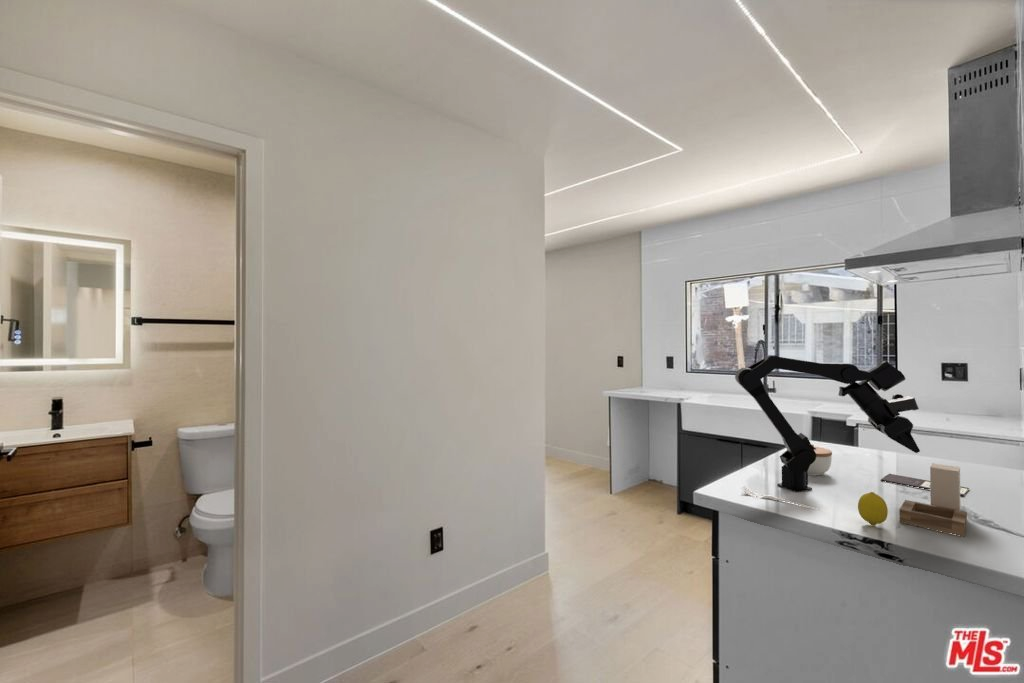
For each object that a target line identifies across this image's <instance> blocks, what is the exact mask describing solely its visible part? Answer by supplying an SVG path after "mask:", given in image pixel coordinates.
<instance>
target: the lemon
mask: <svg viewBox="0 0 1024 683" xmlns="http://www.w3.org/2000/svg"><path fill="white" fill-rule="evenodd" d="M888 509H889V508H888V504H887V503H886V501H885V500H884V498H883V497H882V496H880V495H878V494H877V493H875V492H873V491H870V492H868V493H863V494H862V495H861V496H860V498H859V499H858V501H857V510H858V513H859V515H860V517H861V518H862V520H864V521H865V522H866V523H869V524H870V525H871V526H873V527H875V526H876V525H878V524H882V523H884V522H885V521H886V520H887V518H888V514H889V513H888V512H889V510H888Z"/></svg>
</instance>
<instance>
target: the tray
mask: <svg viewBox="0 0 1024 683" xmlns="http://www.w3.org/2000/svg"><path fill="white" fill-rule="evenodd" d="M899 523H900V524H904V525H908V524H909V526H913V525H914V527H917V526H919V527H918V528H921V527H924V528H923V529H926V528H929V529H928V530H930V529H933V530H932V531H935V530H938V531H937V532H939V531H942V532H941V533H944V532H946V533H945V534H948V533H952V534H956V535H955V536H957V535H960V536H959V537H961V536H963V537H962V538H965V536H966V531H967V527H968V512H967V511H964V510H961V509H960V510H955V509H950V508H945V507H940V506H935V505H931V503H930V504H929V503H923V502H918V501H913V500H909V499H904V501H903V502H902V504H901V506H900V508H899ZM952 534H951V535H952Z"/></svg>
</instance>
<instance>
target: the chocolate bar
mask: <svg viewBox="0 0 1024 683" xmlns="http://www.w3.org/2000/svg"><path fill="white" fill-rule="evenodd" d="M883 481H886V482H885V483H888V482H892V483H891V484H893V483H897V484H896V485H898V484H902V485H901V486H903V485H909V486H913V487H912V488H914V487H919V488H924V489H931V488H930V480H926V479H921V478H915V477H911V476H910V477H909V476H904V475H898V474H895V473H894V474H893V473H888V474H887V475H885V476H884V477H882V478H880V482H883ZM919 488H918V489H919ZM924 489H923V490H924ZM968 489H969V490H970V488H969V487H965V486H961V485H960V496H963V497H964V496H965V495H966V494H967V493H968V492H967V491H969V490H968ZM966 492H967V493H966ZM965 493H966V494H965ZM964 494H965V495H964Z"/></svg>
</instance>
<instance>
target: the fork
mask: <svg viewBox="0 0 1024 683" xmlns="http://www.w3.org/2000/svg"><path fill="white" fill-rule="evenodd" d="M740 489H741V490H742V491H743V492H744V493H745V494H746V495H748V496H749V497H752V498H756V494H757V495H758V494H759V493H756V492H754V491H752V490H751V489H749V488H747V487H746V486H742V487H740ZM762 495H763V496H761V497H760V498H759V499H762V498H764V499H769V500H773V499H775V500H774V501H777V500H780V501H779V502H781V501H785V502H790V503H794V504H798V505H801V506H800V507H802V506H805V507H804V508H807V507H809V508H808V509H812V508H814V509H813V510H816V509H819V510H818V511H821V508H817V507H814V506H811V505H808V504H807V505H806V504H802V503H799V502H796V501H792V500H788V499H784V498H781V497H777V496H773V495H769V494H762ZM798 505H797V506H798Z"/></svg>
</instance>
